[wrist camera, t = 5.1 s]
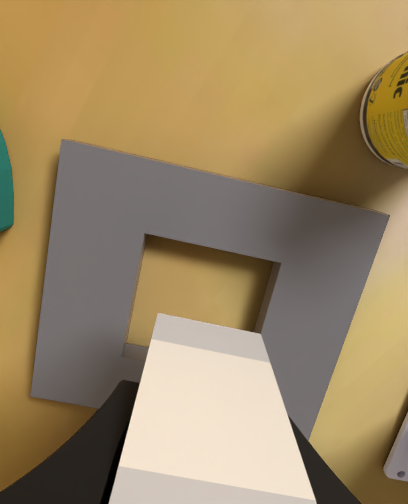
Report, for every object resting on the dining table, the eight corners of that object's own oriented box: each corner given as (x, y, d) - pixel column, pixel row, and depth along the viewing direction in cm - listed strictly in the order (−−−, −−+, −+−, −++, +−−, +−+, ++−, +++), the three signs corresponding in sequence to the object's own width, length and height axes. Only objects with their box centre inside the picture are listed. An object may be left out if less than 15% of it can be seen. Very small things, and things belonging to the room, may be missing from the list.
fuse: (260, 333, 14) (355, 622, 6) (235, 419, 15) (281, 778, 7) (157, 312, 14) (88, 582, 5) (139, 401, 15) (54, 751, 6)
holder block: (375, 210, 20) (390, 215, 18) (299, 428, 23) (306, 446, 22) (72, 140, 18) (61, 139, 17) (41, 380, 22) (30, 396, 21)
